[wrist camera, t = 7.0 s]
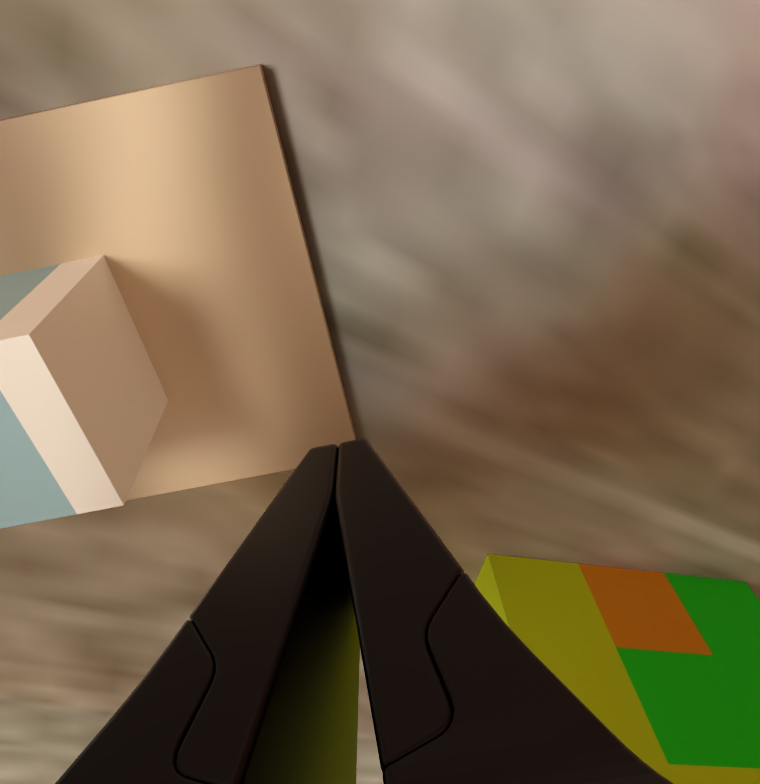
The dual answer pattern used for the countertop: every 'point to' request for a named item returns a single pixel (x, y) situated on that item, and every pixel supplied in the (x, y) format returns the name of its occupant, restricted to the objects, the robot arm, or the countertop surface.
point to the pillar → (71, 393)
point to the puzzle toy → (646, 657)
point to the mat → (188, 265)
